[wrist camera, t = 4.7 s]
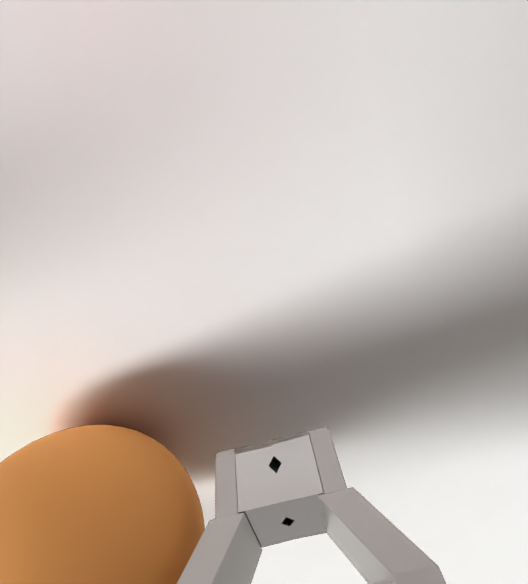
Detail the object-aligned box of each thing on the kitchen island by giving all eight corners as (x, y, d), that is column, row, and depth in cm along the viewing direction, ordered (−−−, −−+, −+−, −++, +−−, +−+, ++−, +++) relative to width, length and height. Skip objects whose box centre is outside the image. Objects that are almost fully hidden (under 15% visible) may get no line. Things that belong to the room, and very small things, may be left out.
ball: (143, 348, 10) (-88, 431, 9) (154, 657, 5) (-304, 852, 5) (214, 451, 13) (53, 514, 13) (255, 680, 9) (11, 787, 9)
